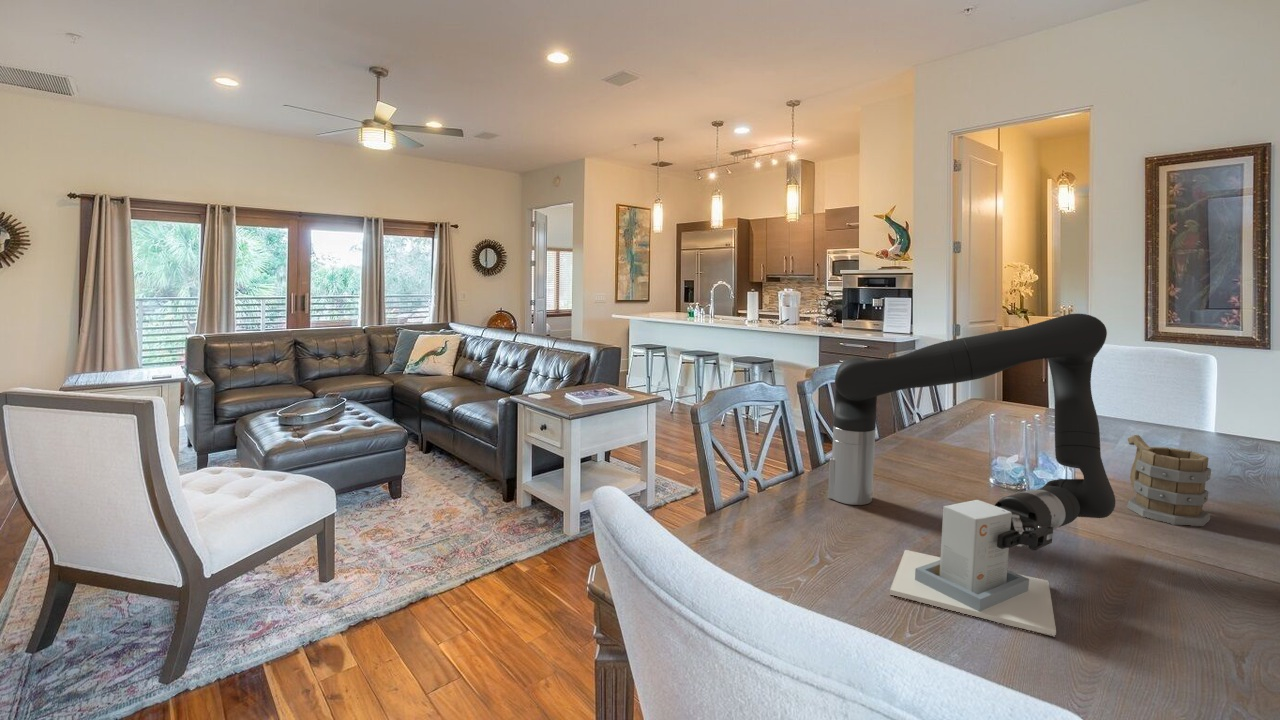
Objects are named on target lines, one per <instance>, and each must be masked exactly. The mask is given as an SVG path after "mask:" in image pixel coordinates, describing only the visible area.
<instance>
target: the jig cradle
mask: <svg viewBox="0 0 1280 720" xmlns="http://www.w3.org/2000/svg"><path fill="white" fill-rule="evenodd" d="M940 558H941V556H936V555H931V554H927V553H923V552H917V551H914V550H908V549H904V552H903V555H902V557H901V560H900V562H899V565H898V567H897V570H896V573H895V575H894V578H893V581H892V583H891V586H890V588H889V595H890V594H891V595H895V596H899V597H904V598H908V599H912V600H916V601H919V602H923V603H927V604H930V605H934V606H937V607H941V608H945V609H948V610H952V611H956V612H960V613H964V614H968V615H972V616H976V617H981V618H984V619H989V620H993V621H997V622H1000V623H1004V624H1007V625H1011V626H1015V627H1019V628H1024V629H1027V630H1032V631H1037V632H1041V633H1047V634H1052V635H1056V636H1057V627H1056V621H1055V615H1054V609H1053V602H1052V597H1051V590H1050V589H1051V588H1050V584H1049V580H1046V579H1042V578H1037V577H1033V576H1028V575H1023V574H1018V573H1016V572H1014V571H1011V570H1008V569H1007V580H1006V583H1005V584H1003V585H1000V586H998V587H995V588H993V589H990V590H988V591H986V592H983V593H981V594H975V593H973V592H971V591H969V590H967V589H965V588H963V587H961V586H958V585H956V584H954V583H952V582H950V581H948V580H946V579H944V578H941V577H939V575H940ZM937 607H936V608H937ZM948 610H947V611H948ZM952 611H951V612H952ZM956 612H955V613H956ZM960 613H959V614H960ZM964 614H963V615H964ZM968 615H967V616H968ZM972 616H971V617H972Z"/></svg>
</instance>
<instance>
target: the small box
mask: <svg viewBox="0 0 1280 720" xmlns="http://www.w3.org/2000/svg"><path fill="white" fill-rule="evenodd" d="M994 505H995V504H991V503H988V502H986V501H983V500H980V499H974V500H969V501H963V502H958V503H955V504H953V503H952V504H949V505H943V506H942V507H943V510H942V526H941V542H940V543H941V544H940V557H941V558H940V575H939V577H941V578H944V579H946V580H948V581H950V582H952V583H954V584H956V585H958V586H961V587H963V588H965V589H967V590H969V591H971V592H973V593H975V594H981V593H983V592H986V591H988V590H990V589H993V588H995V587H998V586H1000V585H1003V584H1005V583H1006V580H1007V570H1008V565H1009V552H1010V548H1005V549H1001V548H998V547H997V538H998V535H999V534H1001V533H1004V532H1007V531H1010V528H1011V515H1012V512H1010V511H1007V510H1005V509H1002V508H1000V507H997V506H994Z"/></svg>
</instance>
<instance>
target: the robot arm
mask: <svg viewBox="0 0 1280 720" xmlns="http://www.w3.org/2000/svg"><path fill="white" fill-rule="evenodd" d="M1107 336H1108V330H1107V327H1106V325H1105V324H1104V323H1103V321H1101V320H1100V319H1099V318H1097V317H1095V316H1093V315H1090V314H1086V313H1069V314H1064V315H1060V316H1056V317H1055V318H1050V319H1046V320H1044V321H1040V322H1037V323H1033V324H1029V325H1026V326H1021V327H1017V328H1012V329H1008V330H1007V329H1006V330H1001V331H995V332H989V333H984V334H979V335H973V336H967V337H966V336H965V337H961V338H956V339H951V340H946V341H940V342H938V343H934V344H931V345H927V346H924V347H921V348H918V349H916V350H913V351H911V352H908V353H905V354H901V355H899V356H894V357H887V358H881V359H880V358H879V359H872V360H871V359H870V360H868V359H866V358H864V357H850V358H848V359H846V360H843V362H842V363H840V365H839V366H838V367H837V370H836V372H835V373H836V374H835V378H834V385H835V392H834V393H835V394H834V407H833V409H834V411H833V429H832V431H833V432H832V450H831V452H832V455H831V457H830V458H829V464H828V465H829V468H828V491H827V499H830V500H834V501H836V502H839V503H841V504H845V505H852V506H853V505H854V506H863V505H869V504H870V503H872V501H873V485H874V483H873V481H874V467H875V466H874V463H875V446H876V445H875V444H876V425H877V405H878V404H877V403H878V402H877V401H878V397H879V396H883V395H886V394H890V393H894V392H899V391H901V390H908V389H914V388H915V389H918V388H926V387H927V388H928V387H936V386H942V385H953V384H957V383H964V382H970V381H975V380H979V379H983V378H986V377H989V376H993V375H995V374H997V373H1001V372H1003V371H1005V370H1008V369H1010V368H1013V367H1016V366H1018V365H1021V364H1024V363H1029V362H1032V361H1038V360H1044V359H1045V360H1046V359H1047V362H1048V366H1049V370H1050V374H1051V379H1052V386H1053V387H1052V388H1053V397H1054V399H1053V400H1054V451H1055V452H1054V455H1055V460H1056V462H1057V463H1058V464H1059V465H1062V466H1065V467H1069V468H1073V469H1079V471H1080V472H1081V473H1082V477H1083V478H1057V479H1052V480H1049V481H1047V482H1046V483H1044V485H1043V486H1042V487H1040V488H1037V489H1031V490H1030V489H1029V490H1025V491H1021V492H1017V493H1014V494H1011V495H1008V496H1004V497H1002V498H1000V499H999V500H998V501H997V502H996V503H995V504H993V505H994V506H997V507H1000V508H1002V509H1005V510H1007V511H1010V512H1012V515H1011V528H1010V531H1007V532H1004V533H1001V534H999V535H998V538H997V547H998V548H1001V549H1005V548H1009V549H1010V548H1013V547H1015V546H1017V547H1024V546H1027V548H1028V549H1029V550H1032V551H1038V550H1039V549H1041V548H1045V546H1048V545H1050V544H1052V543H1053V537H1054V536H1053V535H1054V531H1055V530H1056V529H1058V528H1060V527H1064V526H1066V525H1069V524H1070V523H1072V522H1074V521H1075V520H1076V519H1077V518H1091V519H1104V518H1105V519H1106V518H1108V517H1109V516H1110V515H1111V514H1112V513H1113V512H1114V510H1115V508H1116V497H1115V494H1114V489H1113V488H1112V485H1111V483H1110V481H1109V478H1108V475H1107V472H1106V469H1105V466H1104V463H1103V459H1102V454H1101V438H1100V437H1101V435H1100V433H1101V432H1100V424H1099V419H1098V414H1097V410H1096V406H1095V404H1094V399H1093V395H1092V386H1091V385H1092V383H1091V382H1092V379H1091V378H1092V370H1093V365H1094V359H1095V357H1096V356H1097V355H1098V353H1100V351H1101V350H1102V348H1103V346H1104V344H1105V343H1106V341H1107Z"/></svg>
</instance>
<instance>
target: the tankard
mask: <svg viewBox="0 0 1280 720" xmlns="http://www.w3.org/2000/svg"><path fill="white" fill-rule="evenodd" d="M1127 442H1128V444H1129V445H1131V446H1132V445H1133V446H1134V445H1135V447H1136V451H1135V455H1134V456H1135V457H1134V461H1133V463H1132V464H1131V465H1132V466H1131V468H1130V475H1129V479H1130V485H1131V488H1132V490H1133V491H1134V492H1135V493H1136V497H1134V498H1132V499H1130V500H1129V501H1127V506H1126V507H1127V508H1129V509H1128V510H1130V509H1131V511H1132V512H1133V511H1134V512H1133V513H1135V512H1136V513H1135V514H1137V513H1138V514H1137V515H1139V516H1140V515H1141V517H1142V516H1143V517H1142V518H1144V517H1147V518H1146V519H1148V518H1151V519H1150V520H1152V519H1155V520H1154V521H1156V520H1160V521H1163V522H1162V523H1164V522H1167V523H1166V524H1168V523H1171V524H1170V525H1172V524H1175V525H1174V526H1182V525H1191V526H1190V527H1198V526H1202V527H1204V526H1205V525H1206V524H1208V522H1210V521H1211V520H1210V519H1211V513H1209V512H1207V511H1205V510H1203V506H1204V504H1205V503H1207V502H1208V501H1209V500H1208V499H1209V490H1207V489H1206V483H1207V482H1208V481H1209V480H1211V476H1212V475H1211V474H1212V469H1211V468H1209V466H1208V465H1209V457H1208V456H1206V455H1203V454H1201V453H1199V452H1196V451H1192V450H1186V449H1179V448H1175V447H1170V448H1169V447H1165V446H1164V447H1163V446H1149V445H1148V444H1147V443H1146V442H1145V440H1144V439H1143V438H1142V437H1141V436H1140V435H1139V434H1134V435H1132V436H1130V437H1128V438H1127ZM1209 520H1210V521H1209ZM1160 521H1159V522H1160Z"/></svg>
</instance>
